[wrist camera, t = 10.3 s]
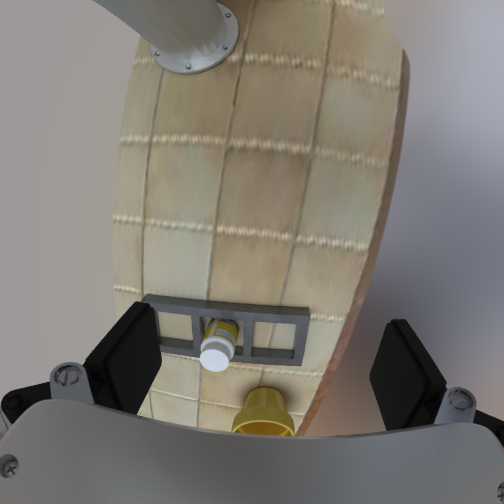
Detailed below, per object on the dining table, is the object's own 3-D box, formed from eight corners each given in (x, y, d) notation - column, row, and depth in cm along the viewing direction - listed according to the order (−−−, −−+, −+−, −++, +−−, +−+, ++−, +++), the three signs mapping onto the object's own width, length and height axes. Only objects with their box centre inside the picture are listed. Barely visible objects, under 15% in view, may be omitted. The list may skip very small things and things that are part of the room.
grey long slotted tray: (147, 294, 43) (141, 300, 40) (308, 307, 41) (310, 316, 39) (154, 341, 46) (149, 349, 43) (300, 356, 44) (301, 366, 42)
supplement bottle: (215, 342, 44) (204, 376, 37) (204, 318, 43) (190, 350, 35) (243, 336, 44) (236, 371, 36) (233, 311, 42) (224, 344, 34)
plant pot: (290, 376, 46) (291, 418, 36) (295, 411, 49) (297, 451, 39) (232, 381, 47) (223, 422, 38) (244, 416, 50) (238, 454, 41)
